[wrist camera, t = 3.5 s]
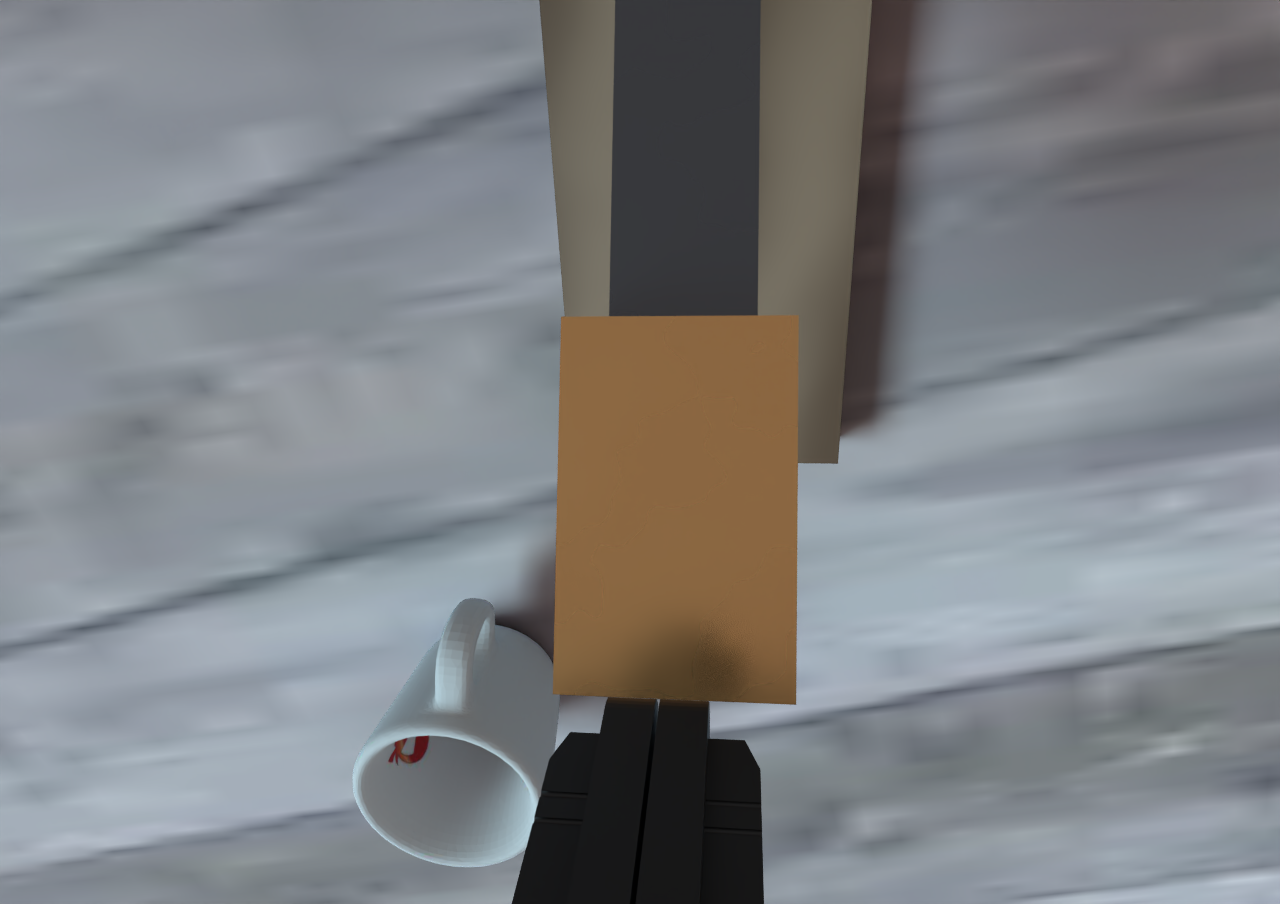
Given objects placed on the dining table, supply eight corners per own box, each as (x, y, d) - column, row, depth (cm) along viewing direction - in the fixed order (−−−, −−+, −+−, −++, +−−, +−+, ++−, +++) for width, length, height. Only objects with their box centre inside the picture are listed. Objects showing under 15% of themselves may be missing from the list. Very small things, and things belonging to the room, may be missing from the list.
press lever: (580, 663, 19) (552, 694, 16) (602, -375, 20) (580, -528, 17) (785, 671, 18) (795, 704, 15) (793, -393, 20) (804, -553, 17)
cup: (407, 540, 38) (333, 659, 31) (582, 560, 38) (547, 684, 31) (420, 719, 43) (358, 857, 36) (575, 738, 43) (544, 881, 36)
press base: (584, 437, 35) (548, 535, 28) (520, -417, 23) (435, -589, 17) (832, 440, 34) (855, 542, 27) (895, -454, 22) (962, -655, 16)
